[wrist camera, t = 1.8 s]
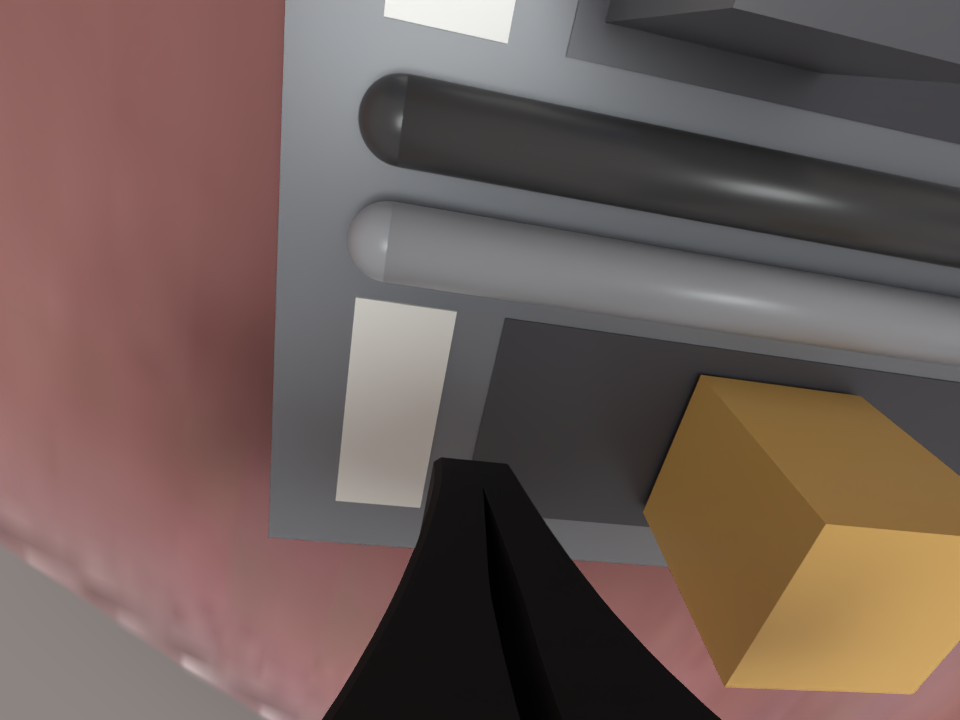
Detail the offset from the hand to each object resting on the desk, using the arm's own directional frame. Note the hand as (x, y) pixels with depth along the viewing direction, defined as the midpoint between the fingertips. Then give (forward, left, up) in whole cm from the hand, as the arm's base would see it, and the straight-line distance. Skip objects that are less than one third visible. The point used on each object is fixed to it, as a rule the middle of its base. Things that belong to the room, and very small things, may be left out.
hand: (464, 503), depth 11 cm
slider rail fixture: (-7, -5, -5) cm, 10 cm away
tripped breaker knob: (-7, 0, -3) cm, 7 cm away
